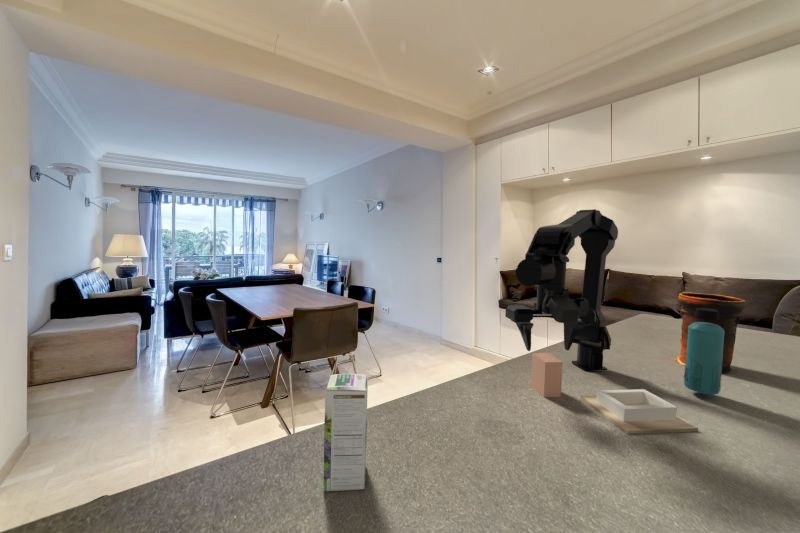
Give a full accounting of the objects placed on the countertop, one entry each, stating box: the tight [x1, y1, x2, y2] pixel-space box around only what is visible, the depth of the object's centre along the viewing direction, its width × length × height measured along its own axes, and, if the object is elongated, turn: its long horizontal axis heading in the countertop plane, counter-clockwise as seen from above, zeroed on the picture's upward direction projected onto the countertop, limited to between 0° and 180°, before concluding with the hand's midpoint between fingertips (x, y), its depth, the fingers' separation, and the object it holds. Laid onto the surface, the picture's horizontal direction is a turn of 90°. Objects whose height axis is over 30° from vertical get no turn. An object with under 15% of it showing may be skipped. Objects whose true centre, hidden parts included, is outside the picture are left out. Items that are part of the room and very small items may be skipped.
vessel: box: [674, 291, 747, 374], centre depth 99 cm, size 14×14×20 cm
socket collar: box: [596, 388, 678, 422], centre depth 70 cm, size 8×11×2 cm
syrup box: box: [323, 373, 369, 492], centre depth 50 cm, size 6×6×14 cm
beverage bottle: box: [683, 308, 725, 395], centre depth 79 cm, size 6×7×20 cm
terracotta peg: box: [530, 352, 563, 398], centre depth 80 cm, size 6×4×8 cm, turn 5°
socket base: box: [580, 394, 699, 435], centre depth 71 cm, size 14×14×1 cm
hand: (547, 350), depth 80 cm, fingers open, 9 cm apart
